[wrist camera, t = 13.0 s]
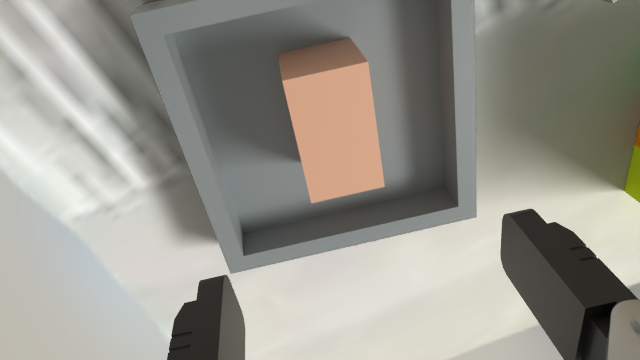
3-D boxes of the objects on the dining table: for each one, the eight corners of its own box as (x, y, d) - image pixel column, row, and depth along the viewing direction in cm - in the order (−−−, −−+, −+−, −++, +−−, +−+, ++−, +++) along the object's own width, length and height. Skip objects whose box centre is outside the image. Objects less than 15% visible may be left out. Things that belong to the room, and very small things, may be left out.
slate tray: (142, 3, 20) (129, 15, 18) (449, -65, 20) (473, -62, 18) (232, 244, 28) (230, 273, 25) (458, 192, 28) (476, 217, 26)
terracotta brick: (277, 53, 22) (282, 80, 18) (350, 37, 22) (368, 61, 18) (303, 162, 25) (311, 203, 21) (366, 148, 25) (384, 186, 21)
